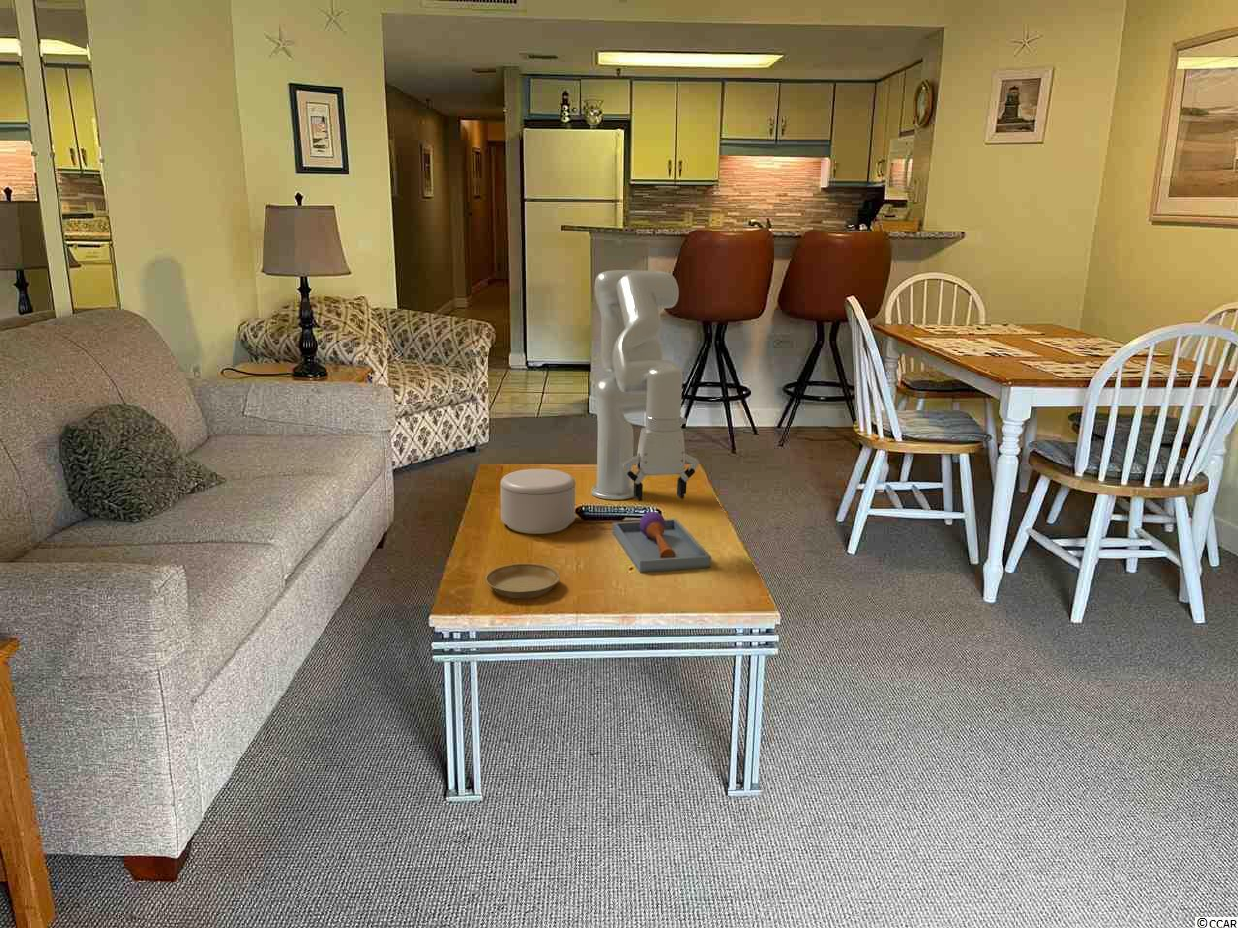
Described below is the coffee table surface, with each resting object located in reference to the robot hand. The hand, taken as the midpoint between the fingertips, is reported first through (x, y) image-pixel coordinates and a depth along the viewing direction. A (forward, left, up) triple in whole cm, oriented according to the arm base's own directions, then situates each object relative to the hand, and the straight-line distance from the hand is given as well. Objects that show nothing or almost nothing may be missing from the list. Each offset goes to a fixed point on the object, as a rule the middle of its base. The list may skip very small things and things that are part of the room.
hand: (659, 497), depth 206 cm
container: (-22, -24, -12) cm, 35 cm away
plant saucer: (+17, -33, -13) cm, 39 cm away
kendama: (+1, 0, -12) cm, 12 cm away
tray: (+1, 0, -12) cm, 12 cm away
